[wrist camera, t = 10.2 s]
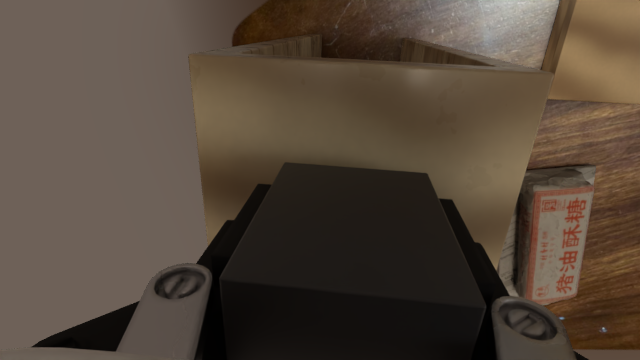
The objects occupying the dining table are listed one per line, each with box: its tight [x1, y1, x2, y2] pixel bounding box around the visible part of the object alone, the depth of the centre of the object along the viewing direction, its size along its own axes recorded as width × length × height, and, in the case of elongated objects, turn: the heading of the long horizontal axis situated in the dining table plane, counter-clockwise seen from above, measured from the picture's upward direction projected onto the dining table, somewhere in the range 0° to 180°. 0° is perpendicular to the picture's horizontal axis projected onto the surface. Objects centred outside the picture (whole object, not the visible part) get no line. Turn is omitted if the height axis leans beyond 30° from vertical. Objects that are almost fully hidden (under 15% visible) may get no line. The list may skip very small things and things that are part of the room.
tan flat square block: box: [541, 0, 640, 104], centre depth 34 cm, size 12×12×3 cm
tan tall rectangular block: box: [188, 34, 554, 270], centre depth 26 cm, size 10×11×30 cm
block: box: [219, 162, 486, 360], centre depth 9 cm, size 4×4×6 cm
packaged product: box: [496, 165, 596, 305], centre depth 43 cm, size 18×5×10 cm
